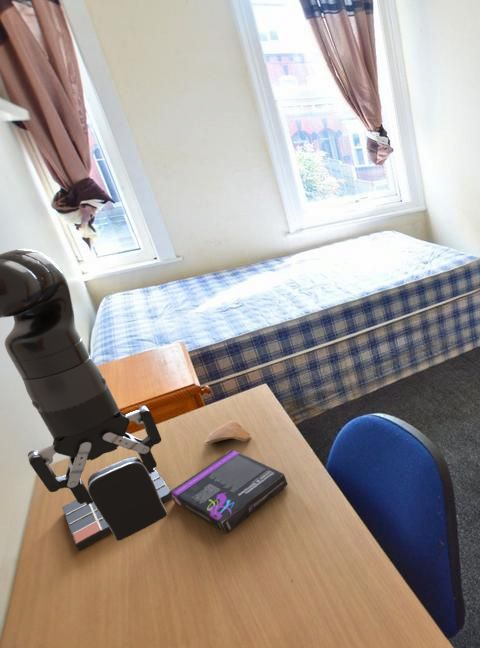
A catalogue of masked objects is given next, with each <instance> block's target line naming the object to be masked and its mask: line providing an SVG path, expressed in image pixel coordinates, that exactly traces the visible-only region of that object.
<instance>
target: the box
mask: <svg viewBox="0 0 480 648" xmlns="http://www.w3.org/2000/svg"><path fill="white" fill-rule="evenodd" d="M286 478H287V477H286V475H285V473H283V472H281V471H279V470H276V469H275V468H272V467H270V466H268V465H266V464H264V463H261V462H259V461H258V460H256V459H254V458H251V457H249V456H247V455H244V454H242V453H241V452H238V451H236V450H234V449H230V450H228V451H227V452H226V453H225V454H223V455H222V456H220V457H219V458H217V459H216V460H215V461H213V462H211V463H210V464H208V465H207V466H205V467H204V468H203V469H201V470H200V471H197V473H195V474H194V475H192V476H191V477H189V478H188V479H186V480H185V481H184V482H182V483H180V484H179V485H177V486H176V487H174V488H172V489H170V490H171V491H170V492H169V493H170V495H171V497H172V500H173V502H174V503H176V504H177V505H179V506H180V507H182V508H184V509H186V510H187V511H188V512H190V513H192V514H194V515H195V516H197V517H199V518H200V519H201V520H203V521H205V522H207V523H209V524H210V525H212V526H213V527H214V528H216V529H218V530H220V531H222V532H223V533H225V534H228V533H230V531H232V530H234V528H236V527H237V526H238V525H239V524H240V523H242V522H243V521H244V520H245V519H247V518H248V517H249V516H250V515H252V514H253V513H254V512H256V511H257V510H258V509H260V507H262V506H263V505H264V504H265V503H267V502H268V501H270V499H272V498H273V497H274V496H276V494H278V493H279V492H280V491H281V490H283V489H284V488H286V487H287V486H288V481H287V479H286Z"/></svg>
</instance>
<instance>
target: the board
mask: <svg viewBox="0 0 480 648" xmlns="http://www.w3.org/2000/svg"><path fill="white" fill-rule="evenodd" d="M153 470H154V472H153V473H151V474H150V476H151V478H152V480H153V482H154V485H155V487H156V490H157V492H158V495H159V497H160V500H161V502H162V504H163V505H164V504H165V503H167V502H168V501H170V500H173V498H172V497H171V495H170V493H169V492H170V491H171V490H172V489H170V487H169V486H168V485H167V483H166V482H165V480H164V479H163V478H162V476H161V474H159V472H158V471H157V469H156V467H155V468H153ZM61 508H62V512H63V514H64V517H65V519H66V523H67V526H68V528H69V531H70V534H71V536H72V539H73V542H74V545H75V547H76V548H77V550H78V551H81V550H83V549H85V548H86V547H88V546H90V545H92V544H94V543H95V542H97V541H99V540H101V539H102V538H105V537H106V536H108V535H110V534H111V533H112V531H111V529H110V527H109V526H108V524H107V523H106V521H105V520H104V519H103V517H102V516H101V514H100V513H99V511H98V510H97V508H96V506H95V505H94V503H91V504H89V505H87V504H86V502H84V503H82V504H80V503H78V502H77V500H76V499H75V500H72V501H70V502H68V503H67V504H65V505H62V507H61Z"/></svg>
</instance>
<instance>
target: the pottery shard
mask: <svg viewBox="0 0 480 648" xmlns="http://www.w3.org/2000/svg"><path fill="white" fill-rule="evenodd" d="M229 439H233V440H238V441H241V442H243V443H246V442H247V441H249V440H250V439H252V435H251V433H249V432H248V431H247V430H246V429H245V428H244V427H242V425H241V424H240V423H239V421H235V420H230V421H227V422H226V423H224V424H222V425H221V426H219V427H216V428H215V429H214V430H212V431H211V432H210V433H209V434H208V436H207V438H206V439H205V444H207V445H210V444H212V443H217V442H222V441H225V440H229Z"/></svg>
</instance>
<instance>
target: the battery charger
mask: <svg viewBox="0 0 480 648" xmlns="http://www.w3.org/2000/svg"><path fill="white" fill-rule="evenodd" d="M87 490H88V492H89V495H90V497H91V499H92V501H93V503H94V505H95V506H96V508H97V510H98V511H99V513H100V514H101V516H102V517H103V519H104V520H105V521H106V523H107V524H108V526H109V527H110V529H111V531H112V532H111V533H112V535H113V537H114V539H115V540H116V541H117V542H121V541H122V540H125V539H127V538H128V537H130V536H133V535H135V534H136V533H139V532H141V531H143V530H144V529H146V528H149V527H150V526H152V525H154V524H156V523H158V522H159V521H161V520H163V519H165V518H166V517H167V516H168V510H167V509H166V507H165V506H164V503H163V504H162V502H161V500H160V497H159V495H158V492H157V490H156V487H155V485H154V482H153V480H152V478H151V476H150V474H149V472H148V471H147V469H146V467H145V466H144V464H143V462H142V460H141V458H138V457H134V456H133V457H128V458H124V459H122V460H120V461H118V462H115V463H112V464H110V465H108V466H106V467H103V468H102V469H99V470H97V471H95V472H94V473H92V474H91V475H90V476H89V477H88V479H87Z"/></svg>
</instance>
